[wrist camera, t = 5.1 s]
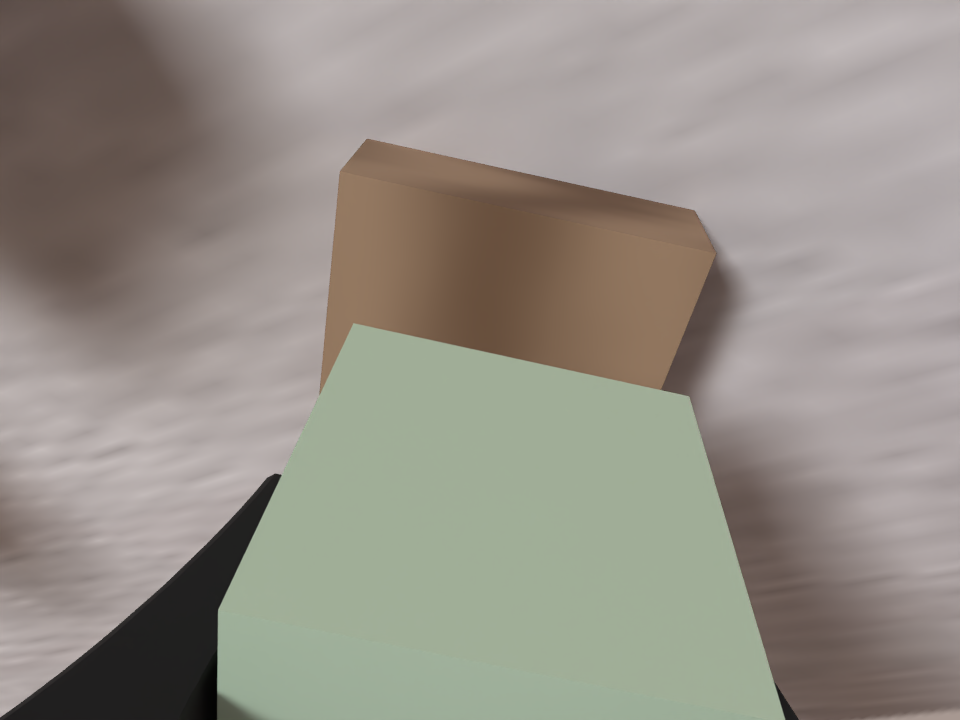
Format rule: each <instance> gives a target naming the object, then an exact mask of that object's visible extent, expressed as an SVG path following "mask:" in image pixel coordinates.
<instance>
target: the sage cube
mask: <svg viewBox="0 0 960 720" xmlns="http://www.w3.org/2000/svg"><path fill="white" fill-rule="evenodd" d="M217 720H785V717H784V714H783V711H782V707H781V704H780V700H779V697H778V694H777V690H776V687H775V684H774V680H773V677H772V674H771V670H770V667H769V663H768V660H767V657H766V653H765V650H764V647H763V643H762V640H761V637H760V633H759V630H758V626H757V623H756V620H755V616H754V613H753V610H752V606H751V603H750V600H749V596H748V593H747V589H746V586H745V583H744V579H743V576H742V573H741V569H740V566H739V563H738V559H737V556H736V552H735V549H734V546H733V542H732V539H731V536H730V532H729V529H728V526H727V522H726V519H725V515H724V512H723V509H722V505H721V502H720V499H719V495H718V492H717V489H716V485H715V482H714V478H713V475H712V472H711V468H710V465H709V462H708V458H707V455H706V451H705V448H704V445H703V441H702V438H701V435H700V431H699V428H698V425H697V421H696V418H695V414H694V411H693V408H692V404H691V401H690V398H689V396H685V395H681V394H676V393H672V392H667V391H663V390H658V389H653V388H649V387H644V386H640V385H635V384H630V383H626V382H621V381H617V380H612V379H607V378H603V377H598V376H594V375H589V374H584V373H580V372H575V371H571V370H566V369H561V368H557V367H552V366H548V365H543V364H538V363H534V362H529V361H525V360H520V359H516V358H511V357H506V356H502V355H497V354H493V353H488V352H483V351H479V350H474V349H470V348H465V347H460V346H456V345H451V344H447V343H442V342H437V341H433V340H428V339H424V338H419V337H414V336H410V335H405V334H401V333H396V332H391V331H387V330H382V329H378V328H373V327H369V326H364V325H359V324H355V323H353V325H352V328H351V330H350V332H349V334H348V336H347V338H346V340H345V342H344V345H343V347H342V349H341V351H340V353H339V355H338V357H337V359H336V361H335V364H334V366H333V368H332V370H331V372H330V374H329V376H328V378H327V381H326V383H325V385H324V387H323V389H322V391H321V393H320V395H319V398H318V400H317V402H316V404H315V406H314V408H313V410H312V412H311V414H310V417H309V419H308V421H307V423H306V425H305V427H304V429H303V431H302V434H301V436H300V438H299V440H298V442H297V444H296V446H295V448H294V450H293V453H292V455H291V457H290V459H289V461H288V463H287V465H286V467H285V470H284V472H283V474H282V476H281V478H280V480H279V482H278V484H277V486H276V489H275V491H274V493H273V495H272V497H271V499H270V501H269V503H268V506H267V508H266V510H265V512H264V514H263V516H262V518H261V520H260V522H259V525H258V527H257V529H256V531H255V533H254V535H253V537H252V539H251V542H250V544H249V546H248V548H247V550H246V552H245V554H244V556H243V558H242V561H241V563H240V565H239V567H238V569H237V571H236V573H235V575H234V578H233V580H232V582H231V584H230V586H229V588H228V590H227V592H226V594H225V597H224V599H223V601H222V603H221V605H220V607H219V609H218V669H217Z"/></svg>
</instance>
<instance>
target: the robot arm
mask: <svg viewBox="0 0 960 720" xmlns="http://www.w3.org/2000/svg"><path fill="white" fill-rule="evenodd" d="M281 476H282V475H280V474H274V475H272V476H270V477H268V478H267V479H266V480H265V481H264V482H263V483H262V485H261V486H260V487H259V488H258V489H257V491H256V492H255V493H254V494H253V495H252V496H251V497H250V499H249V500H248V501H247V502H246V503H245V504H244V505H243V506H242V508H241V509H240V510H239V511H238V512H237V513H236V514H235V515H234V516H233V517H232V518H231V519H230V520H229V522H228V523H227V524H226V525H225V526H224V527H223V528H222V529H221V530H220V531H219V532H218V533H217V534H216V535H215V536H214V537H213V538H212V539H211V540H210V541H209V542H208V543H207V544H206V545H205V546H204V547H203V548H202V549H201V550H200V551H199V552H198V553H197V554H196V555H195V556H194V557H193V558H192V559H191V560H190V561H189V562H188V563H187V564H185V565H184V566H183V567H182V568H181V569H180V570H179V571H178V572H177V573H176V574H175V575H174V576H173V577H172V578H171V579H170V580H169V581H168V582H167V583H166V584H165V585H164V586H162V587H161V588H160V589H159V590H158V591H157V592H156V593H155V594H154V595H152V596H151V597H150V598H149V599H148V600H147V601H146V602H144V603H143V604H142V605H141V606H140V607H139V608H138V609H136V610H135V611H134V612H133V613H132V614H131V615H130V616H128V617H127V618H126V619H125V620H124V621H123V622H122V623H120V624H119V625H118V626H117V627H116V628H115V629H114V630H112V631H111V632H110V633H109V634H108V635H107V636H105V637H104V638H103V639H102V640H101V641H99V642H98V643H97V644H96V645H95V646H93V647H92V648H91V649H90V650H88V651H87V652H86V653H85V654H84V655H82V656H81V657H80V658H79V659H77V660H76V661H75V662H74V663H72V664H71V665H70V666H68V667H67V668H66V669H65V670H63V671H62V672H61V673H60V674H58V675H57V676H56V677H54V678H53V679H52V680H50V681H49V682H48V683H46V684H45V685H44V686H43V687H41V688H40V689H39V690H37V691H36V692H35V693H33V694H32V695H31V696H29V697H28V698H27V699H25V700H24V701H23V702H21V703H20V704H19V705H17V706H16V707H14V708H13V709H12V710H10V711H9V712H7V713H6V714H5V715H3V716H2V717H0V720H217V669H218V609H219V607H220V605H221V603H222V601H223V599H224V597H225V594H226V592H227V590H228V588H229V586H230V584H231V582H232V580H233V578H234V575H235V573H236V571H237V569H238V567H239V565H240V563H241V561H242V558H243V556H244V554H245V552H246V550H247V548H248V546H249V544H250V542H251V539H252V537H253V535H254V533H255V531H256V529H257V527H258V525H259V522H260V520H261V518H262V516H263V514H264V512H265V510H266V508H267V506H268V503H269V501H270V499H271V497H272V495H273V493H274V491H275V489H276V486H277V484H278V482H279V480H280V478H281ZM774 684H775V687H776V690H777V694H778V697H779V700H780V704H781V707H782V711H783V714H784V717H785V720H799V719H798V718H797V716H796V715H795V713H794V712H793V710H792V709H791V707H790V705H789V704H788V702H787V701H786V699H785V698H784V696H783V694H782V693H781V691H780V690H779V688H778V687H777V685H776V683H775V682H774Z"/></svg>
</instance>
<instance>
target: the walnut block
mask: <svg viewBox="0 0 960 720" xmlns="http://www.w3.org/2000/svg"><path fill="white" fill-rule="evenodd" d="M715 256H716V252H715V250H714V248H713V246H712V244H711V242H710V240H709V238H708V236H707V234H706V232H705V230H704V228H703V226H702V224H701V222H700V220H699V218H698V216H697V214H696V212H695V211H694V210H690V209H685V208H681V207H676V206H672V205H667V204H662V203H658V202H653V201H649V200H644V199H640V198H635V197H631V196H626V195H621V194H617V193H612V192H608V191H603V190H599V189H594V188H589V187H585V186H580V185H576V184H571V183H567V182H562V181H558V180H553V179H548V178H544V177H539V176H535V175H530V174H526V173H521V172H516V171H512V170H507V169H503V168H498V167H494V166H489V165H485V164H480V163H475V162H471V161H466V160H462V159H457V158H453V157H448V156H444V155H439V154H434V153H430V152H425V151H421V150H416V149H412V148H407V147H402V146H398V145H393V144H389V143H384V142H380V141H375V140H371V139H366V141H365V142H364V143H363V144H362V145H361V147H360V148H359V149H358V150H357V151H356V153H355V154H354V155H353V156H352V157H351V159H350V160H349V161H348V162H347V163H346V165H345V166H344V167H343V168H342V169H341V171H340V176H339V187H338V198H337V209H336V219H335V230H334V241H333V252H332V263H331V274H330V285H329V296H328V307H327V318H326V329H325V340H324V351H323V361H322V372H321V383H320V393H321V391H322V389H323V387H324V385H325V383H326V381H327V378H328V376H329V374H330V372H331V370H332V368H333V366H334V364H335V361H336V359H337V357H338V355H339V353H340V351H341V349H342V347H343V345H344V342H345V340H346V338H347V336H348V334H349V332H350V330H351V328H352V325H353V323H355V324H359V325H364V326H369V327H373V328H378V329H382V330H387V331H391V332H396V333H401V334H405V335H410V336H414V337H419V338H424V339H428V340H433V341H437V342H442V343H447V344H451V345H456V346H460V347H465V348H470V349H474V350H479V351H483V352H488V353H493V354H497V355H502V356H506V357H511V358H516V359H520V360H525V361H529V362H534V363H538V364H543V365H548V366H552V367H557V368H561V369H566V370H571V371H575V372H580V373H584V374H589V375H594V376H598V377H603V378H607V379H612V380H617V381H621V382H626V383H630V384H635V385H640V386H644V387H649V388H653V389H658V390H661V389H662V386H663V384H664V381H665V379H666V376H667V374H668V372H669V369H670V367H671V364H672V362H673V359H674V357H675V354H676V352H677V349H678V347H679V344H680V342H681V339H682V337H683V335H684V332H685V330H686V327H687V325H688V322H689V320H690V317H691V315H692V312H693V310H694V307H695V305H696V302H697V300H698V297H699V295H700V293H701V290H702V288H703V285H704V283H705V280H706V278H707V275H708V273H709V270H710V268H711V265H712V263H713V260H714V258H715ZM319 395H320V394H319Z"/></svg>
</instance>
